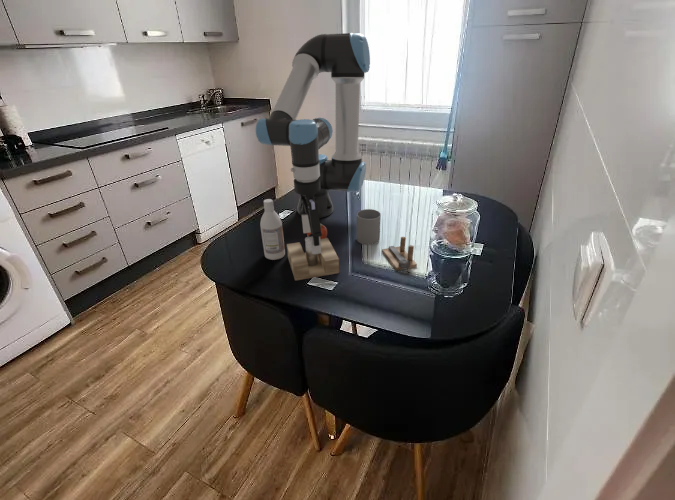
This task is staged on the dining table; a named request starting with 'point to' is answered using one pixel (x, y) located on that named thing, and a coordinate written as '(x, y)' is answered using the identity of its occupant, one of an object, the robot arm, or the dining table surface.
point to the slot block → (325, 266)
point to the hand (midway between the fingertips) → (311, 242)
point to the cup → (368, 226)
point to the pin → (310, 253)
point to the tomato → (323, 231)
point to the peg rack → (400, 256)
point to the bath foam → (272, 232)
